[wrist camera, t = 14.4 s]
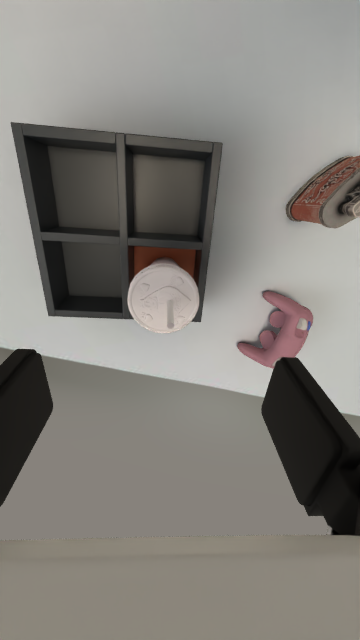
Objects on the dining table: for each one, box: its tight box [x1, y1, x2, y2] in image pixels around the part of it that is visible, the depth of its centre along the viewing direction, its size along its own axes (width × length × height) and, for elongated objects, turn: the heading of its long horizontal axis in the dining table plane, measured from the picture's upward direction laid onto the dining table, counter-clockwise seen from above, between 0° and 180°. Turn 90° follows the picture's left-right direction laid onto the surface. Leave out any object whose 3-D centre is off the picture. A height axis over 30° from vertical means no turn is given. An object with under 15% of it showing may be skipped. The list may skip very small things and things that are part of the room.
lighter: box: [286, 156, 360, 228], centre depth 23 cm, size 8×3×10 cm, turn 132°
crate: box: [11, 122, 223, 322], centre depth 26 cm, size 17×17×5 cm
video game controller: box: [237, 291, 313, 368], centre depth 32 cm, size 10×5×7 cm, turn 162°
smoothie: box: [127, 257, 199, 333], centre depth 23 cm, size 6×6×14 cm
